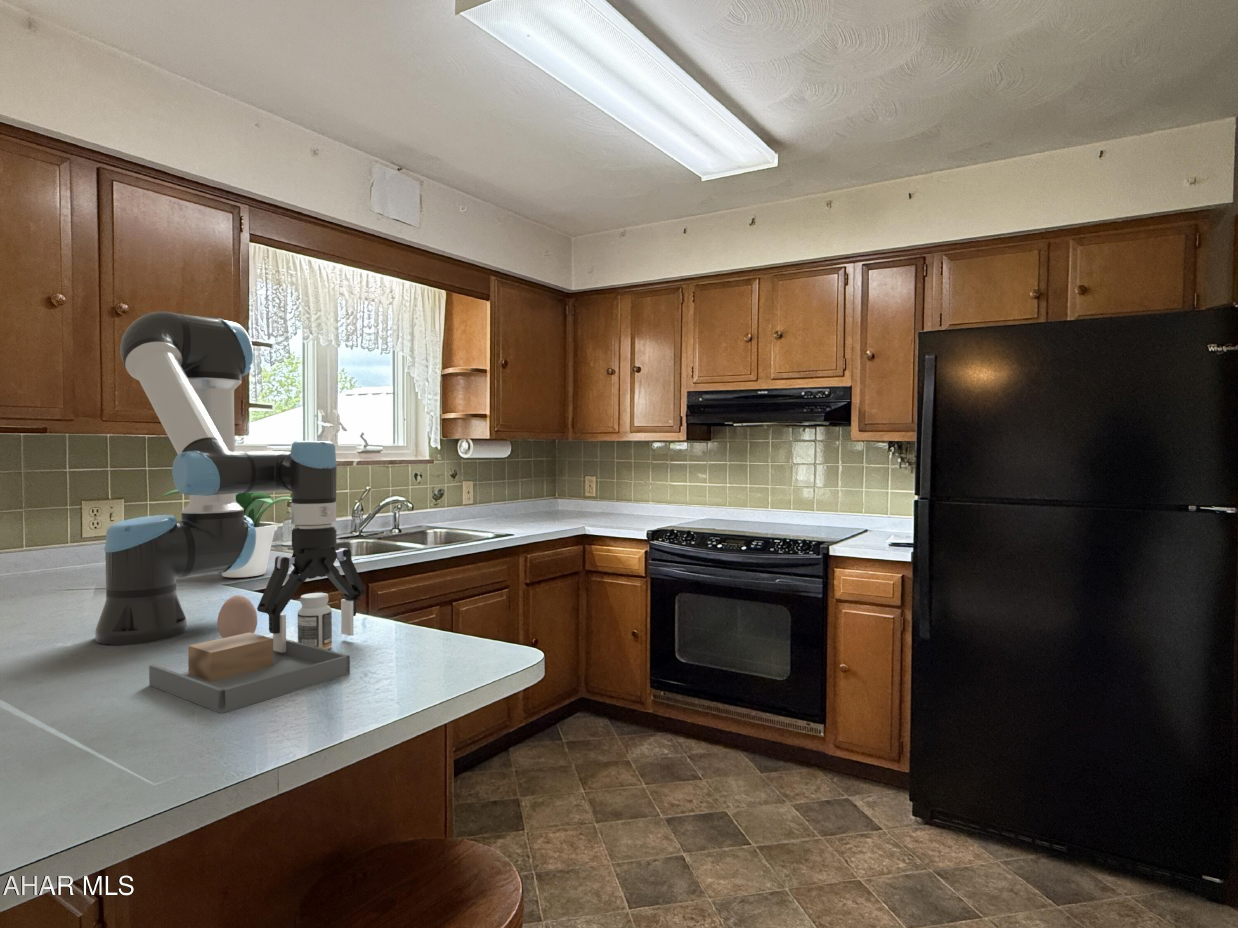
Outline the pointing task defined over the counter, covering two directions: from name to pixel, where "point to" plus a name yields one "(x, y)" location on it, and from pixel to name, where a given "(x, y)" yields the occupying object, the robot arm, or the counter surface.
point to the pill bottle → (315, 621)
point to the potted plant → (263, 531)
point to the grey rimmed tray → (256, 678)
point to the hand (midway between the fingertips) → (314, 642)
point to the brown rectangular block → (230, 656)
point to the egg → (237, 617)
